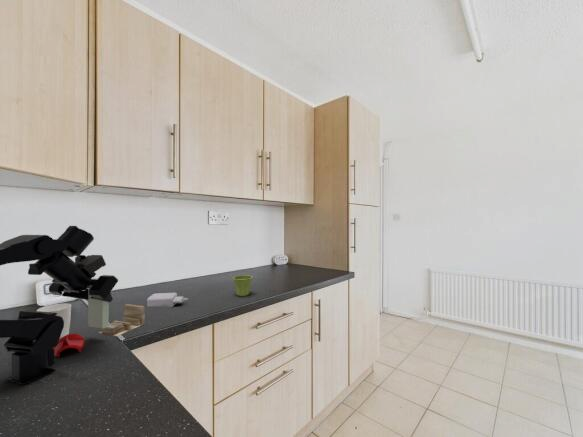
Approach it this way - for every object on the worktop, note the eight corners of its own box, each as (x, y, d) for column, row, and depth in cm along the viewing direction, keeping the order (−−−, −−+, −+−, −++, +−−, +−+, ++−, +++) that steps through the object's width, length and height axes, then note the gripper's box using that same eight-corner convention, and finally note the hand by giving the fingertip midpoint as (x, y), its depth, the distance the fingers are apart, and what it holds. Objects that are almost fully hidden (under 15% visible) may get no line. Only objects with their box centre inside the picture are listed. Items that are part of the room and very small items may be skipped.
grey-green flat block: (102, 328, 77) (102, 280, 77) (88, 325, 78) (88, 279, 79) (108, 326, 78) (108, 279, 78) (94, 323, 80) (94, 277, 80)
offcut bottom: (113, 335, 81) (113, 331, 81) (101, 333, 83) (101, 329, 83) (125, 330, 85) (125, 326, 85) (113, 328, 86) (113, 324, 86)
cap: (89, 344, 71) (89, 326, 75) (61, 344, 67) (63, 325, 71) (75, 365, 72) (76, 347, 76) (47, 366, 68) (50, 347, 72)
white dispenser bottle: (185, 308, 111) (146, 310, 108) (190, 301, 120) (154, 303, 117) (185, 296, 111) (147, 298, 108) (190, 291, 120) (154, 292, 117)
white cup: (34, 348, 75) (34, 313, 75) (39, 338, 82) (39, 306, 82) (69, 341, 80) (70, 308, 80) (72, 332, 86) (72, 301, 86)
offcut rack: (116, 340, 80) (116, 316, 81) (97, 336, 83) (97, 313, 83) (144, 327, 90) (144, 306, 90) (127, 324, 93) (127, 304, 93)
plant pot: (254, 296, 127) (254, 278, 127) (234, 298, 124) (234, 279, 124) (250, 291, 136) (250, 274, 136) (231, 293, 132) (231, 276, 132)
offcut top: (113, 331, 81) (113, 327, 81) (103, 329, 83) (103, 326, 83) (123, 326, 85) (123, 323, 85) (113, 325, 86) (113, 322, 86)
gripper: (112, 247, 73) (143, 278, 83) (60, 246, 77) (96, 276, 88) (83, 282, 65) (121, 311, 75) (27, 278, 69) (71, 307, 80)
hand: (102, 299), depth 80 cm, fingers closed on grey-green flat block, 6 cm apart
